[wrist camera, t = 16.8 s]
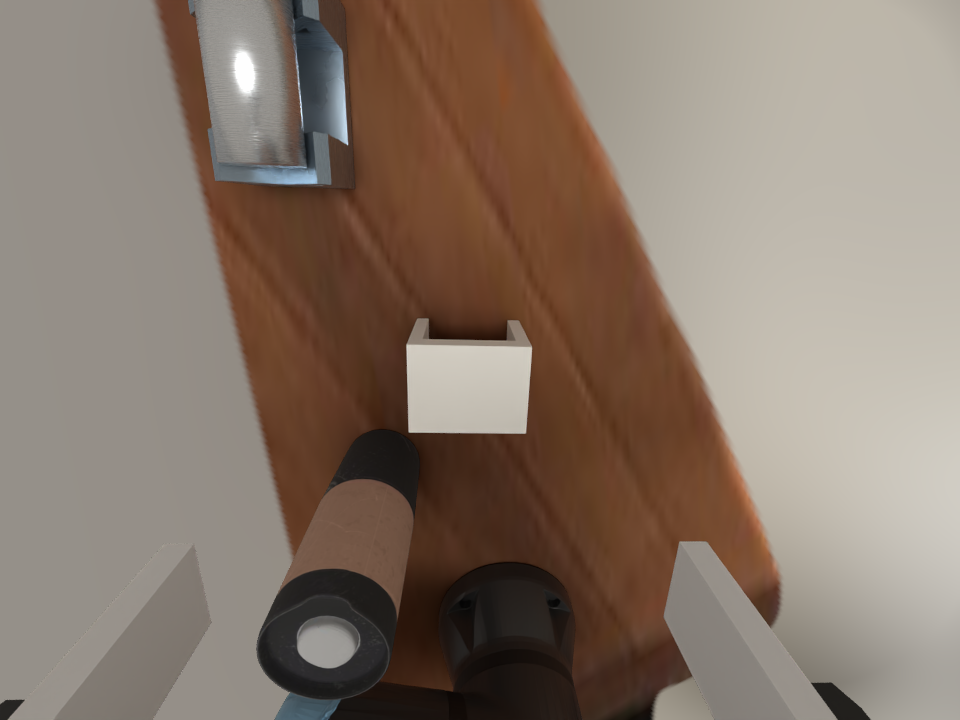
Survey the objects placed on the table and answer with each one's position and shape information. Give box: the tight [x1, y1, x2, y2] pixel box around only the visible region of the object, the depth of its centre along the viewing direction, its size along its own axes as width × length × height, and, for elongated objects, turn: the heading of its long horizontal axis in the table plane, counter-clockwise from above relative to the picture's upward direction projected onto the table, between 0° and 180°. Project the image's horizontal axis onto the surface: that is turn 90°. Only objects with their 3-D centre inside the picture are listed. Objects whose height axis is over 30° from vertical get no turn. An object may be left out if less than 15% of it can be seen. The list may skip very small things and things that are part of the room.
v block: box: [188, 0, 355, 189], centre depth 30 cm, size 12×7×8 cm, turn 178°
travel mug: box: [256, 430, 420, 700], centre depth 34 cm, size 8×8×20 cm
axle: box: [193, 0, 307, 169], centre depth 26 cm, size 10×5×5 cm, turn 178°
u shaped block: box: [407, 318, 532, 434], centre depth 37 cm, size 7×9×8 cm
